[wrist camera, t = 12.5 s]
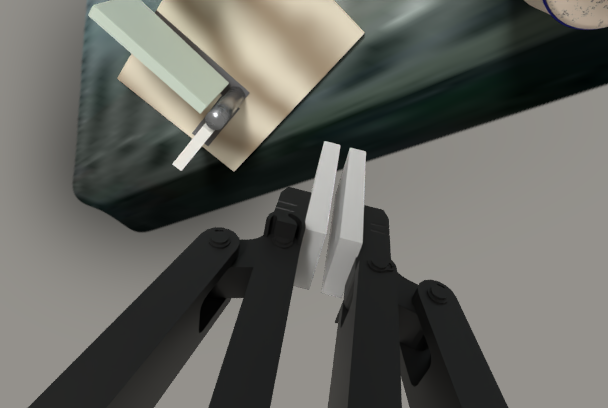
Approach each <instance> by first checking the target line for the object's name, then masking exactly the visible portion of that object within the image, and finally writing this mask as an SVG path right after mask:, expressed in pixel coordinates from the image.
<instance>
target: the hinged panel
mask: <svg viewBox="0 0 608 408" xmlns="http://www.w3.org/2000/svg"><path fill="white" fill-rule="evenodd" d="M88 16H90V17H91V18H92V19H93V20H94V21H95V22H96V23H97V24H99V25H100V26H101V27H102V28H103V29H104V30H105V31H107V32H108V33H109V34H110V35H111V36H112V37H113V38H115V39H116V40H117V41H118V42H119V43H120V44H121V45H122V46H124V47H125V48H126V49H127V50H128V51H129V52H130V53H132V54H133V55H134V56H135V57H136V58H137V59H138V60H140V61H141V62H142V63H143V64H144V65H145V66H146V67H148V68H149V69H150V70H151V71H152V72H153V73H154V74H155V75H157V76H158V77H159V78H160V79H161V80H162V81H163V82H165V83H166V84H167V85H168V86H169V87H170V88H171V89H173V90H174V91H175V92H176V93H177V94H178V95H179V96H180V97H182V98H183V99H184V100H185V101H186V102H187V103H188V104H190V105H191V106H192V107H193V108H194V109H195V110H196V111H198V112H199V113H200V114H201V113H202V112H203V111H204V110H205V109H206V107H207V106H208V105H209V104H210V103H211V102H212V101H213V100H214V99H215V98H216V97H217V96H218V95H219V94H220V93H221V92H222V91H223V90H224V89H225V87H226V86H227V85H228V84H229V82H228V81H226V80H225V79H224V78H223V77H222V76H221V75H220V74H219V73H218V72H217V71H216V70H215V69H214V68H213V67H212V66H210V65H209V64H208V63H207V62H206V61H205V60H204V59H203V58H202V57H201V56H200V55H199V54H198V53H197V52H196V51H194V50H193V49H192V48H191V47H190V46H189V45H188V44H187V43H186V42H185V41H184V40H183V39H182V38H181V37H180V36H178V35H177V34H176V33H175V32H174V31H173V30H172V29H171V28H170V27H169V26H168V25H167V24H166V23H165V22H164V21H162V20H161V19H160V18H159V17H158V16H157V15H156V14H155V13H154V12H153V11H152V10H151V9H150V8H149V7H147V6H146V5H145V4H144V3H143V2H142V1H141V0H111V1H107V2H103V3H99V4H95V5H93V7H92V9H91V11H90V13H89V14H88Z"/></svg>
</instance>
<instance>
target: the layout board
mask: <svg viewBox="0 0 608 408" xmlns="http://www.w3.org/2000/svg"><path fill="white" fill-rule="evenodd" d="M155 14H156V15H157V16H158V17H159V18H160V19H161V20H162V21H164V22H165V23H166V24H167V25H168V26H169V27H170V28H171V29H172V30H173V31H174V32H175V33H176V34H177V35H178V36H180V37H181V38H182V39H183V40H184V41H185V42H186V43H187V44H188V45H189V46H190V47H191V48H192V49H193V50H194V51H196V52H197V53H198V54H199V55H200V56H201V57H202V58H203V59H204V60H205V61H206V62H207V63H208V64H209V65H210V66H212V67H213V68H214V69H215V70H216V71H217V72H218V73H219V74H220V75H221V76H222V77H223V78H224V79H225V80H226V81H228V82H229V84H228V85H227V86H226V87H225V89H224V90H223V91H222V92H221V93H220V94H219V95H218V96H217V97H216V98H215V99H214V100H213V101H212V102H211V103H210V104H209V105H208V106H207V107H206V109H205V110H204V111H203V112H202V113H201V114H200V113H199V112H198V111H196V110H195V109H194V108H193V107H192V106H191V105H190V104H188V103H187V102H186V101H185V100H184V99H183V98H182V97H180V96H179V95H178V94H177V93H176V92H175V91H174V90H173V89H171V88H170V87H169V86H168V85H167V84H166V83H165V82H163V81H162V80H161V79H160V78H159V77H158V76H157V75H155V74H154V73H153V72H152V71H151V70H150V69H149V68H148V67H146V66H145V65H144V64H143V63H142V62H141V61H140V60H138V59H137V58H136V57H135V56H134V55H133V54H131V56H130V57H129V59H128V61H127V63H126V64H125V66H124V68H123V69H122V71H121V73H120V75H119V76H118V78H117V79H118V80H120V81H121V82H122V83H123V84H125V85H126V86H127V87H128V88H130V89H131V90H132V91H133V92H135V93H136V94H137V95H138V96H140V97H141V98H142V99H143V100H145V101H146V102H147V103H148V104H150V105H151V106H152V107H153V108H155V109H156V110H157V111H158V112H160V113H161V114H162V115H163V116H165V117H166V118H167V119H168V120H170V121H171V122H172V123H173V124H175V125H176V126H177V127H178V128H180V129H181V130H182V131H183V132H185V133H186V134H187V135H188V136H190V137H191V138H192V139H193V138H194V136H195V135H196V134H197V133H198V131H199V130H200V129H201V128H202V126H203V125H204V124H205V123H206V122H205V116H206V115H207V114H208V112H209V111H210V110H211V109H212V108H213V107H214V106H215V105H216V104H217V103H218V102H219V101H220V99H221V98H222V97H223V96H224V95H225V94H226V93H227V92H228V91H229V90H230V89H231V88H232V87H239V88H241V89H242V90H243V91H244V93H245V99H244V100H243V102H242V103H241V104H240V106H239V107H238V108H237V109H236V111H235V112H234V113H233V115H232V116H231V117H230V118H229V120H228V121H227V122H226V124H225V125H224V126H223V127H222V128H221V129H220V130H215V131H214V132H213V133H212V134H211V136H210V137H209V138H208V139H207V140H206V142H205V143H204V144H203V145H202V147H204V148H205V149H206V150H207V151H209V152H210V153H211V154H212V155H214V156H215V157H216V158H217V159H219V160H220V161H221V162H222V163H224V164H225V165H226V166H227V167H229V168H230V169H231V170H232V171H235V170H236V169H237V168H238V167H239V166H240V165H241V164H242V163H243V162H244V161H245V160H246V159H247V158H248V156H249V155H250V154H251V153H252V152H253V151H254V150H255V149H256V148H257V147H258V146H259V145H260V144H261V143H262V142H263V141H264V139H265V138H266V137H267V136H268V135H269V134H270V133H271V132H272V131H273V130H274V129H275V128H276V127H277V126H278V125H279V124H280V122H281V121H282V120H283V119H284V118H285V117H286V116H287V115H288V114H289V113H290V112H291V111H292V110H293V109H294V108H295V107H296V105H297V104H298V103H299V102H300V101H301V100H302V99H303V98H304V97H305V96H306V95H307V94H308V93H309V92H310V91H311V90H312V88H313V87H314V86H315V85H316V84H317V83H318V82H319V81H320V80H321V79H322V78H323V77H324V76H325V75H326V74H327V73H328V72H329V70H330V69H331V68H332V67H333V66H334V65H335V64H336V63H337V62H338V61H339V60H340V59H341V58H342V57H343V56H344V55H345V53H346V52H347V51H348V50H349V49H350V48H351V47H352V46H353V45H354V44H355V43H356V42H357V41H358V40H359V39H360V38H361V36H362V35H363V34H364V33H365V32H364V31H363V30H362V29H361V28H360V27H359V26H358V25H357V24H356V23H355V22H354V21H353V20H352V19H351V17H350V16H349V15H348V14H347V13H346V12H345V11H344V10H343V9H342V8H341V7H340V6H339V5H338V4H337V3H336V2H335V1H334V0H162V2H161V4H160V5H159V7H158V9H157V10H156V12H155Z"/></svg>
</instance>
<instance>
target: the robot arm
mask: <svg viewBox="0 0 608 408" xmlns="http://www.w3.org/2000/svg"><path fill="white" fill-rule="evenodd" d="M339 151H340V145H338V144H334V143H330V142H326V141H324V145H323V149H322V152H321V156H320V160H319V164H318V168H317V172H316V176H315V179H314V183H313V187H312V191H311V192H307V191H302V190H299V189H295V188H291V187H288V188H286V189H285V190H284V191H282V192H281V194H280V197H279V200H278V203H277V205H276V208H275V211H274V212H272V213H270V214H269V216H268V217H267V220H266V225H265V230H264V235H263V236H261V237H259V238H256V239H250V240H239V237H238V236H237V235H236V233H234V232H233V231H231V230H229V229H225V228H211V229H207V230H206V231H205V232H203V233H201V234H200V235H199V236H198V238H196V239H195V240H194V241H193V243H191V244H190V245H189V246H188V248H186V249H185V250H184V252H183V253H181V255H179V257H177V258H176V260H174V261H173V263H172V264H171V265H170V266H169V267H168V268H167V269H166V270H165V271H164V272H163V273H162V274H161V275H160V276H159V277H158V278H157V279H156V280H155V281H154V282H153V283H152V284H151V285H150V286H149V287H148V288H147V289H146V290H145V291H144V292H143V293H142V294H141V295H140V296H139V297H138V298H137V299H136V300H135V301H134V302H133V303H132V304H131V305H130V306H129V307H128V308H127V309H126V310H125V311H124V312H123V313H122V314H121V315H120V316H119V317H118V318H117V319H116V320H115V321H114V322H113V323H112V324H111V325H110V326H109V327H108V328H107V329H106V330H105V331H104V332H103V333H102V334H101V335H100V336H99V337H98V338H97V339H96V340H95V341H94V342H93V343H92V344H91V345H90V346H89V347H88V348H87V349H86V350H85V351H84V352H83V353H82V354H81V355H80V356H79V357H78V358H77V359H76V360H75V361H74V362H73V363H72V364H71V365H70V366H69V367H68V368H67V369H66V370H65V371H64V372H63V373H62V374H61V375H60V376H59V377H58V378H57V379H56V380H55V381H54V382H53V383H52V384H51V385H50V386H49V387H48V388H47V389H46V390H45V391H44V392H43V393H42V394H41V395H40V396H39V397H38V398H37V399H36V400H35V401H34V402H33V403H32V404H31V405H30V406H29V407H28V408H154V407H155V405H156V404H157V402H158V401H159V400H160V398H161V397H162V395H163V394H164V393H165V391H166V390H167V388H168V387H169V386H170V384H171V383H172V381H173V380H174V379H175V377H176V376H177V374H178V373H179V371H180V370H181V369H182V367H183V366H184V365H185V363H186V362H187V360H188V359H189V358H190V356H191V355H192V353H193V352H194V351H195V349H196V348H197V347H198V345H199V344H200V342H201V341H202V340H203V338H204V337H205V335H206V334H207V333H208V331H209V330H210V328H211V327H212V325H213V324H214V323H215V321H216V320H217V318H218V317H219V316H220V314H221V313H222V312H223V310H224V309H225V307H226V306H227V305H228V303H229V302H230V300H231V298H244V299H243V302H242V305H241V308H240V311H239V314H238V318H237V321H236V323H235V327H234V330H233V333H232V336H231V339H230V342H229V346H228V349H227V351H226V355H225V358H224V361H223V364H222V367H221V370H220V373H219V376H218V380H217V383H216V386H215V389H214V392H213V395H212V399H211V402H210V405H209V408H270V405H271V400H272V394H273V389H274V383H275V379H276V373H277V368H278V363H279V357H280V353H281V347H282V342H283V337H284V331H285V327H286V321H287V316H288V310H289V306H290V300H291V295H292V290H293V286H296V287H300V288H304V289H308V290H309V288H310V285H311V282H312V278H313V276H314V272H315V269H316V266H317V263H318V259H319V256H320V253H321V250H322V247H323V243H324V240H325V237H326V233H327V227H328V221H329V214H330V208H331V202H332V195H333V189H334V182H335V176H336V170H337V163H338V157H339ZM365 164H366V152H365V151H361V150H358V149H354V148H350V149H349V152H348V156H347V159H346V162H345V166H344V169H343V172H342V175H341V179H340V183H339V185H338V189H337V192H336V195H335V202H334V209H333V216H332V222H331V229H330V236H329V243H328V250H327V256H326V263H325V270H324V277H323V284H322V291H321V293H324V294H327V295H331V296H335V297H339V298H341V297H342V295H343V292H344V300H343V303H342V305H341V308H340V311H339V313H338V315H337V318H336V320H335V323H338V329H337V338H336V345H335V354H334V362H333V370H332V378H331V386H330V394H329V402H328V408H402V403H401V377H402V381H403V385H404V388H405V392H406V396H407V399H408V403H409V407H410V408H508V406H507V404H506V402H505V400H504V398H503V396H502V393H501V391H500V389H499V387H498V385H497V383H496V381H495V379H494V377H493V374H492V372H491V370H490V368H489V366H488V364H487V362H486V360H485V358H484V355H483V353H482V351H481V349H480V347H479V345H478V343H477V340H476V338H475V336H474V334H473V332H472V330H471V328H470V326H469V323H468V321H467V319H466V317H465V315H464V313H463V311H462V309H461V306H460V304H459V302H458V300H457V298H456V296H455V295H454V293H453V292H452V291H451V290H450V289H449V288H448V287H447V286H446V285H444V284H442V283H440V282H438V281H434V280H424V281H423V282H421V283H419V285H417V284H415V283H413V282H411V281H409V280H407V279H406V278H404V277H402V276H401V275H400V274H399V273H398V272H397V268H396V265H395V264H394V262H393V261H392V260H391V253H390V236H389V219H388V217H387V215H386V214H385V212H384V211H383V210H381V209H377V208H373V207H369V206H365V205H364V192H365V189H364V188H365ZM344 290H345V291H344Z"/></svg>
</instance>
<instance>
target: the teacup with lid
mask: <svg viewBox="0 0 608 408" xmlns="http://www.w3.org/2000/svg"><path fill="white" fill-rule="evenodd" d="M524 1H525V2H526V3H528V4H529V5H531V6H532V7H534V8H537V9H539V10H541V11H543V12H545V13H547V14H550V15H551V16H552V17H553V18H554V19H555V20H556V21H558V22H559V23H561V24H563V25H565V26H567V27H570V28H574V29H580V30H594V29H601V28H605V27H608V0H524Z"/></svg>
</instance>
